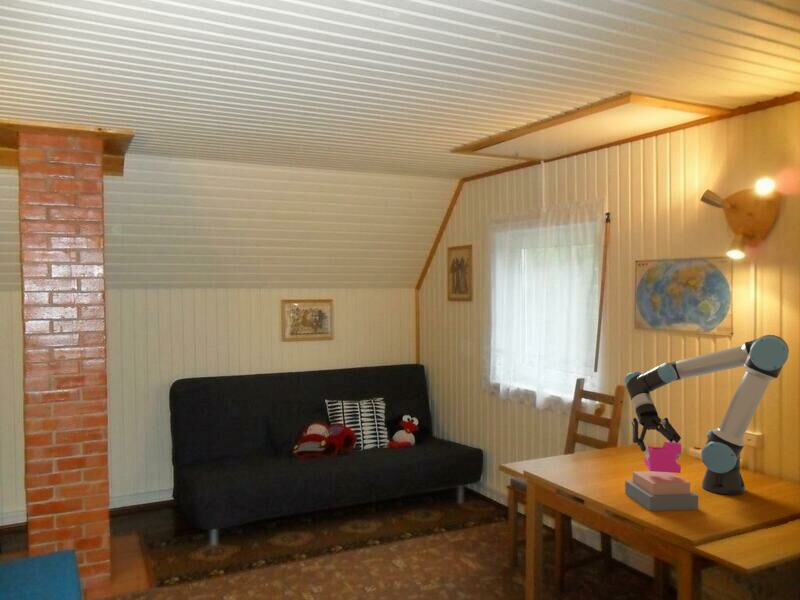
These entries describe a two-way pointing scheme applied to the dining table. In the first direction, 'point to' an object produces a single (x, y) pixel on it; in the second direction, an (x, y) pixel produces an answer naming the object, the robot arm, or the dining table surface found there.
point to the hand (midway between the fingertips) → (664, 458)
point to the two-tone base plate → (661, 491)
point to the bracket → (664, 458)
